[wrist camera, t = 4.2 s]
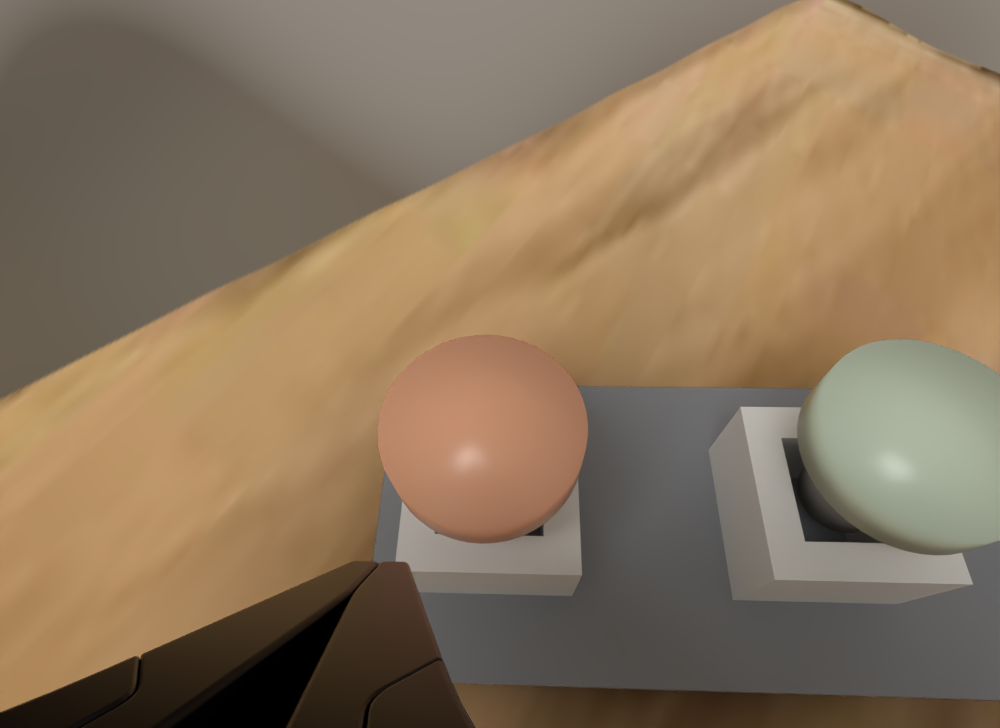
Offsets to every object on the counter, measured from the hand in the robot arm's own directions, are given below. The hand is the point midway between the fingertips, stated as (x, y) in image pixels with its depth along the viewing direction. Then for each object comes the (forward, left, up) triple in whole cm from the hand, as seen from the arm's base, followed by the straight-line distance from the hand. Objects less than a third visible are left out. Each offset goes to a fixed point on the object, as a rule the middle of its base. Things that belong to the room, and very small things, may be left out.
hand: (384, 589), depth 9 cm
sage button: (-6, -10, -8) cm, 14 cm away
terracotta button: (+2, -4, -8) cm, 9 cm away
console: (-6, -10, -12) cm, 17 cm away
